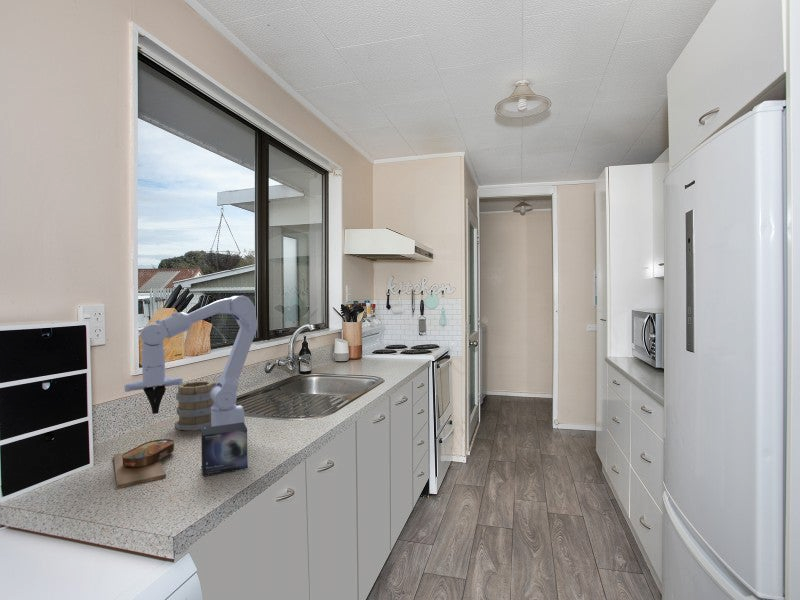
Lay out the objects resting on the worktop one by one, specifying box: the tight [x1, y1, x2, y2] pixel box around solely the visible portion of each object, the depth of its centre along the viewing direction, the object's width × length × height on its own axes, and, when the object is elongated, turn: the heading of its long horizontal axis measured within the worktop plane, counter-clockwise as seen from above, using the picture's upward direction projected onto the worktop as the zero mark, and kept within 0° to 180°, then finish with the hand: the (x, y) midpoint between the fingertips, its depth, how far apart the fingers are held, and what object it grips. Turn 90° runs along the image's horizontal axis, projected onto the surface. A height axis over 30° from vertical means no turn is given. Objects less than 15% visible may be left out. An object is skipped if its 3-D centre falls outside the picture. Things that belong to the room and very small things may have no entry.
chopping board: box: [113, 451, 167, 489], centre depth 115 cm, size 10×24×1 cm, turn 34°
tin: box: [122, 438, 175, 467], centre depth 119 cm, size 15×3×8 cm
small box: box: [200, 422, 249, 477], centre depth 113 cm, size 11×6×10 cm, turn 117°
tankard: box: [174, 380, 218, 432], centre depth 154 cm, size 20×13×15 cm, turn 132°
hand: (155, 412), depth 129 cm, fingers closed
